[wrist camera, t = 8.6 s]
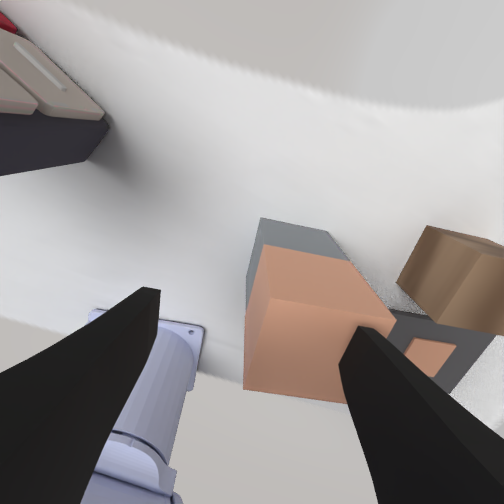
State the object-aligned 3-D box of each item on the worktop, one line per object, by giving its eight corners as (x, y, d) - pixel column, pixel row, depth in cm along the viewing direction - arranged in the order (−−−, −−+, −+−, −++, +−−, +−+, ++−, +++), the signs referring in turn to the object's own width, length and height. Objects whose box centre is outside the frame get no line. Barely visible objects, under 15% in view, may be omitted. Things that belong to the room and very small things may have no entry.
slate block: (246, 276, 20) (245, 316, 16) (260, 217, 18) (264, 244, 14) (306, 287, 21) (321, 329, 16) (326, 230, 19) (350, 261, 14)
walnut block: (395, 282, 21) (435, 323, 16) (425, 224, 19) (481, 253, 14) (450, 293, 21) (505, 336, 17) (486, 238, 19) (558, 270, 15)
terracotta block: (244, 316, 16) (243, 389, 11) (263, 244, 14) (270, 298, 9) (321, 329, 16) (348, 404, 12) (350, 261, 14) (396, 320, 10)
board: (353, 374, 25) (356, 381, 24) (388, 308, 22) (393, 314, 21) (445, 388, 26) (451, 395, 25) (492, 327, 23) (500, 334, 22)
